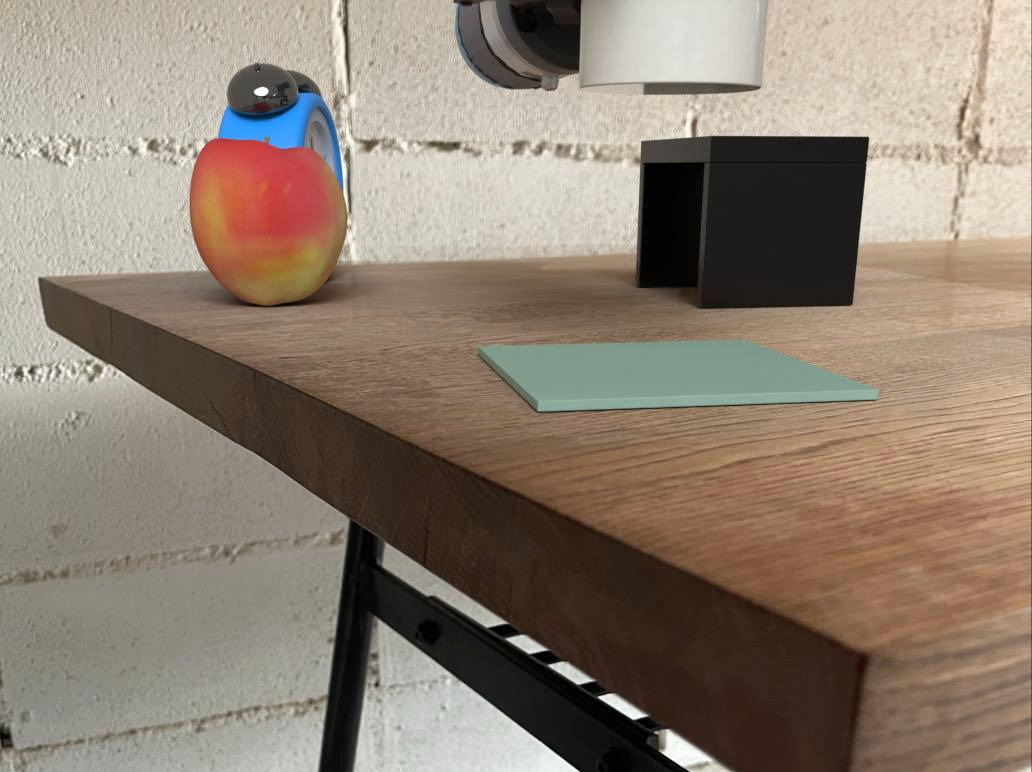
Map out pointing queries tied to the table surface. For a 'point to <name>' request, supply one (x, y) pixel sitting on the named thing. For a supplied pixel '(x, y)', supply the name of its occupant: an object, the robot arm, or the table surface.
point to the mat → (664, 375)
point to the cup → (672, 46)
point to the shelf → (752, 218)
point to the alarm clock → (280, 112)
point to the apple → (266, 219)
